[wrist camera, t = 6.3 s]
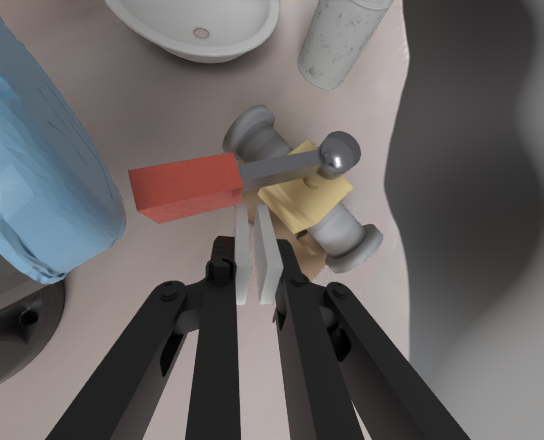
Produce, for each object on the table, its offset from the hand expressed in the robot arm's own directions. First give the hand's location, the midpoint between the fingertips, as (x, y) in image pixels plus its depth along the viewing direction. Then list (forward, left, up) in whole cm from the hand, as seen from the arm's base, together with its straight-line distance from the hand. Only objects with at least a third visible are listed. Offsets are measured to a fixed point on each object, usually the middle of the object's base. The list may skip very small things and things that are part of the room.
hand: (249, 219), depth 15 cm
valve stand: (+1, +8, -13) cm, 15 cm away
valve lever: (-2, +2, 0) cm, 3 cm away
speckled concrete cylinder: (-14, +33, -13) cm, 38 cm away
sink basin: (-30, +18, -13) cm, 38 cm away
